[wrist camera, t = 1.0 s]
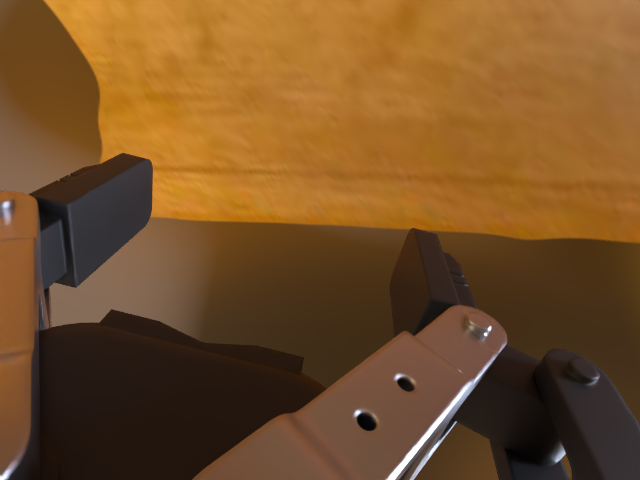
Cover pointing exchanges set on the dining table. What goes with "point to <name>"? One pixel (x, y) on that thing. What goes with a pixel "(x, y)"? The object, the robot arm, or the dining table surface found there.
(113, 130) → the dining table surface
